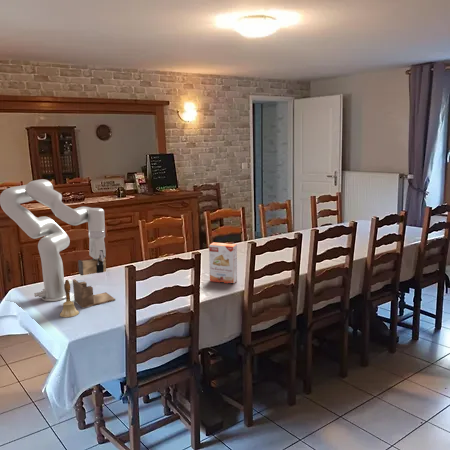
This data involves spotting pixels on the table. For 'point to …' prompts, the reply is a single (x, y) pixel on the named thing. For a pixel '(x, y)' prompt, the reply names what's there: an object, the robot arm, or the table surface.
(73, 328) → the table surface
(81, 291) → the brown wooden angled piece
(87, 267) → the tan wooden block
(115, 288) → the table surface
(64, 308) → the hand bell
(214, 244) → the cracker box
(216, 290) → the table surface
